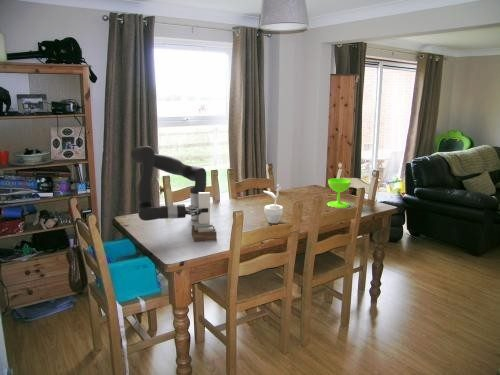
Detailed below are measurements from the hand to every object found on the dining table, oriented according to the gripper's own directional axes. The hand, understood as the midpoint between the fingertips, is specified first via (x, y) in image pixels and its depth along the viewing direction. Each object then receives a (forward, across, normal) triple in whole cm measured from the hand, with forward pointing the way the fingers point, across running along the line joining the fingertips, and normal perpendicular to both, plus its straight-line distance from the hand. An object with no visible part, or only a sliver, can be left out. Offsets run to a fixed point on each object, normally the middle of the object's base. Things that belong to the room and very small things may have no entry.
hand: (207, 209), depth 216 cm
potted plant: (+42, +12, +15) cm, 46 cm away
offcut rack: (-3, -4, +14) cm, 15 cm away
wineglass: (+98, +38, +15) cm, 106 cm away
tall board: (-2, 0, +12) cm, 13 cm away
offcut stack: (-3, -6, +12) cm, 14 cm away
